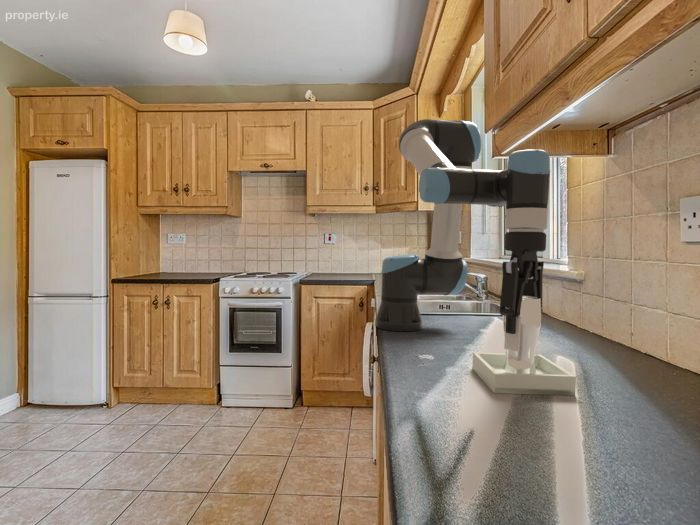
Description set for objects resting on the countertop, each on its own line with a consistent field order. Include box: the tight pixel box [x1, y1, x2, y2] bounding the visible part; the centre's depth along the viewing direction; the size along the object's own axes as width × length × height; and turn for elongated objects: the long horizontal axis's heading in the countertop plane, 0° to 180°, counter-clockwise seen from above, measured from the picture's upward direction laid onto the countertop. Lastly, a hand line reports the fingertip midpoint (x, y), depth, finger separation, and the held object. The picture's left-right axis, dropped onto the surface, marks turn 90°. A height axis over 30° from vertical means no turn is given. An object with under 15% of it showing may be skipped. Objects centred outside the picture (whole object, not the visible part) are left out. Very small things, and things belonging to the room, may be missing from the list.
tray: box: [472, 352, 577, 396], centre depth 81 cm, size 15×15×4 cm
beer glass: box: [502, 295, 542, 374], centre depth 81 cm, size 7×7×15 cm
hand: (520, 346), depth 81 cm, fingers closed on beer glass, 7 cm apart
